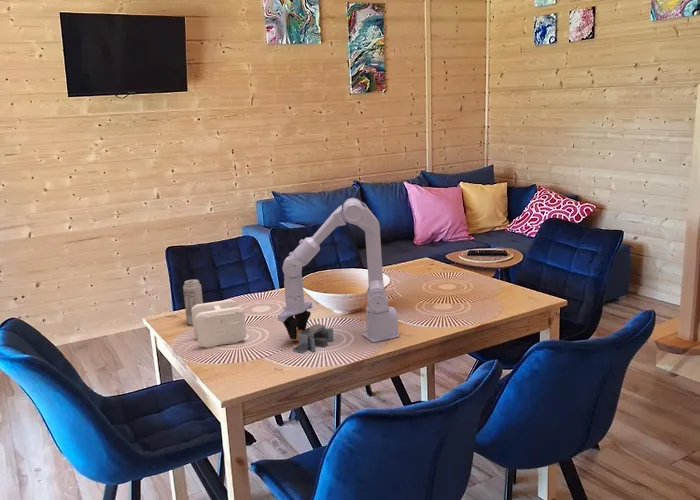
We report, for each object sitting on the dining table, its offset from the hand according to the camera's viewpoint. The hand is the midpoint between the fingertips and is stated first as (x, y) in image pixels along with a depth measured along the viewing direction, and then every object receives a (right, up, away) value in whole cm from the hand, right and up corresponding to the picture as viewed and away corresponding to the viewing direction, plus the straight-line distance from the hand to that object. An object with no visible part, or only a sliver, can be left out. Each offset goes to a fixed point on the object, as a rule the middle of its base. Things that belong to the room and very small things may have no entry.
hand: (297, 336), depth 203 cm
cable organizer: (-25, -2, +3) cm, 25 cm away
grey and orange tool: (+4, -2, -2) cm, 4 cm away
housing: (+6, -2, -4) cm, 7 cm away
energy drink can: (-36, +2, +21) cm, 42 cm away
